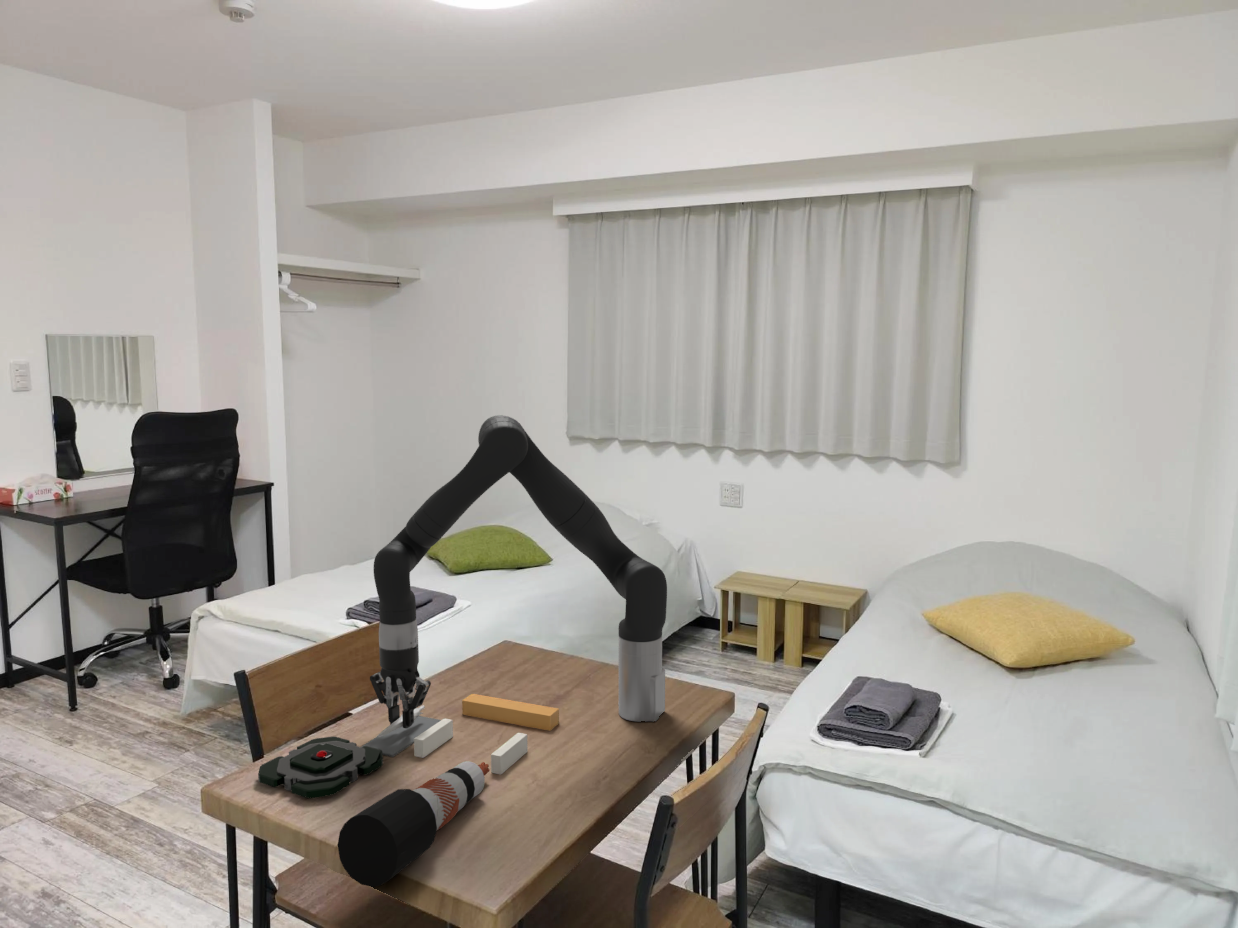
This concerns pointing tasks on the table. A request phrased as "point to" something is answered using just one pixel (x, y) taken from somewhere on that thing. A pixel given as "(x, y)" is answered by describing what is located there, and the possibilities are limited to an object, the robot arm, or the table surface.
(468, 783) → the cable
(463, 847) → the table surface
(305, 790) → the flat green button pad
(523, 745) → the rails
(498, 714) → the bar
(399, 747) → the mat
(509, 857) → the table surface
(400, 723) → the white tapered spike
